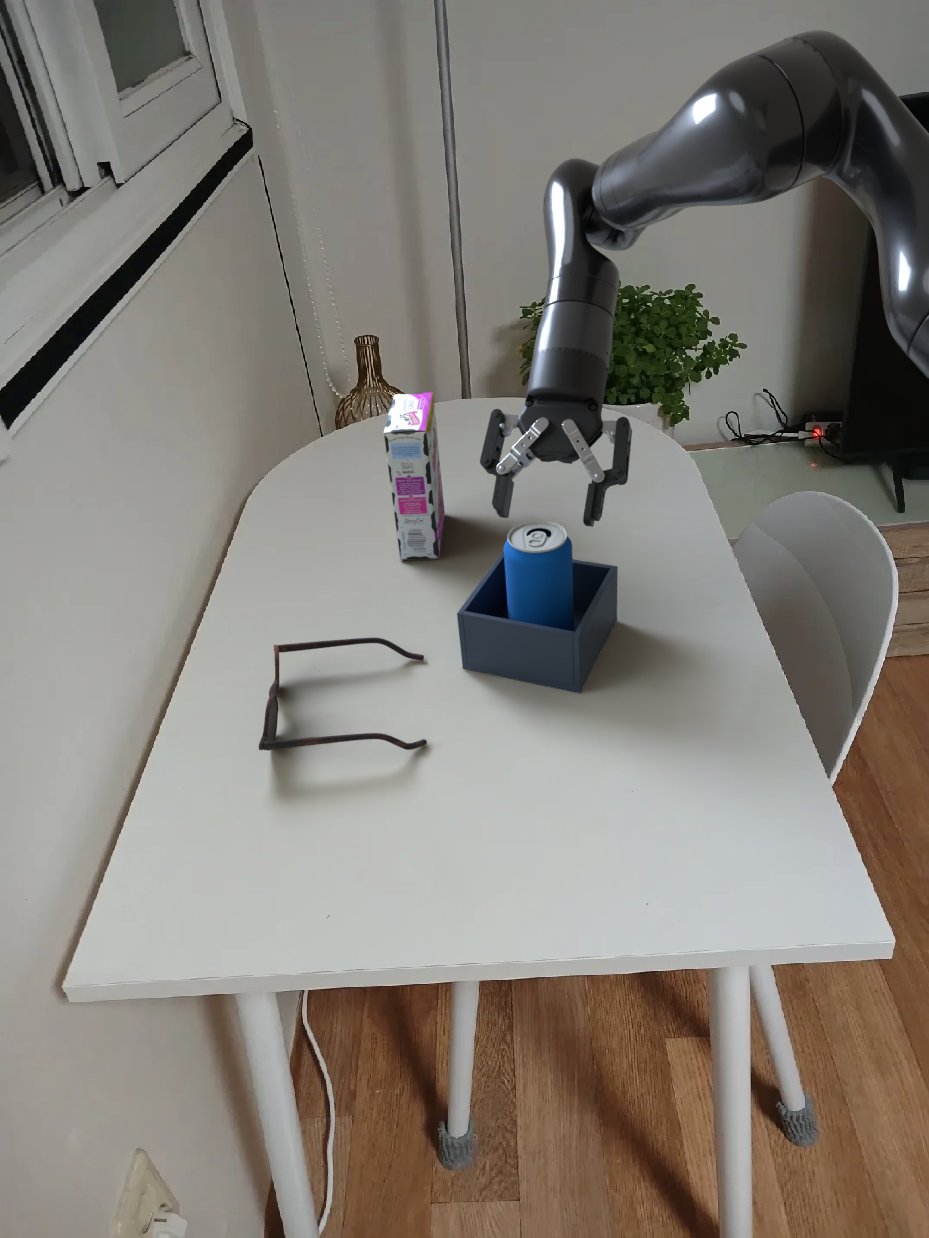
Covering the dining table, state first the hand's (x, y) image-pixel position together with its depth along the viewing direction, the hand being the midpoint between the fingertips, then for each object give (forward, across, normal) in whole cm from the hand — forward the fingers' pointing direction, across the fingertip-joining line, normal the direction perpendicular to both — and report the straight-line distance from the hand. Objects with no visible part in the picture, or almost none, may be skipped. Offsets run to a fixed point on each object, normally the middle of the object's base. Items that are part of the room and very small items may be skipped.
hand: (544, 520), depth 92 cm
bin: (+11, 0, +7) cm, 13 cm away
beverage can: (+11, 0, +6) cm, 13 cm away
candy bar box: (-1, -19, +20) cm, 28 cm away
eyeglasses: (+21, -15, -3) cm, 26 cm away
